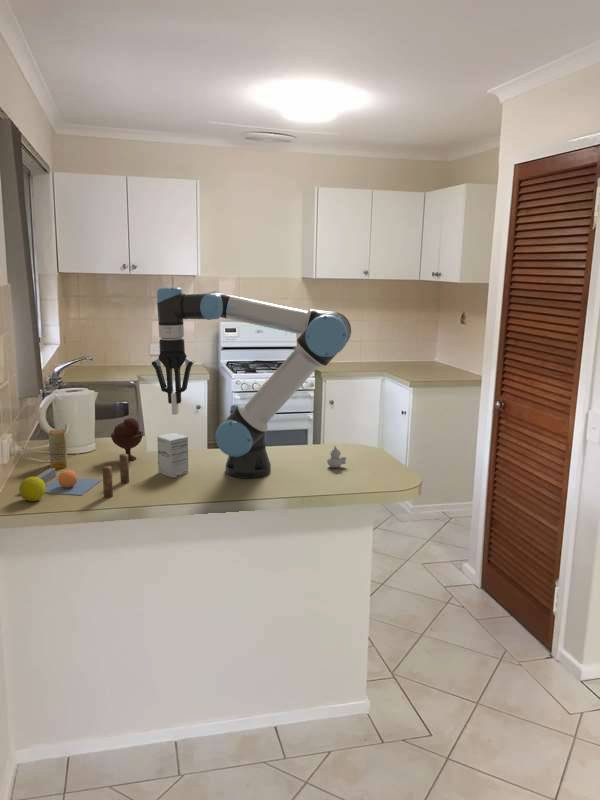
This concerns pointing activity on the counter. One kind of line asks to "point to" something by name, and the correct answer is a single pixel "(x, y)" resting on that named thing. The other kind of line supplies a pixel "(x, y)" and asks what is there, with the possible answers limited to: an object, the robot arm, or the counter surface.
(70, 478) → the ball
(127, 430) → the ice cream bowl
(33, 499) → the tennis ball
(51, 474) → the blue-grey rod
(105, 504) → the counter surface
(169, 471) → the supplement box
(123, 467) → the right post
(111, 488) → the left post
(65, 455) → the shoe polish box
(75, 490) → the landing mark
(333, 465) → the grey figurine
